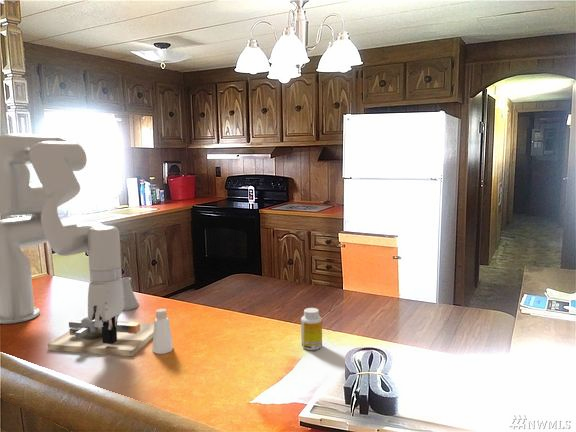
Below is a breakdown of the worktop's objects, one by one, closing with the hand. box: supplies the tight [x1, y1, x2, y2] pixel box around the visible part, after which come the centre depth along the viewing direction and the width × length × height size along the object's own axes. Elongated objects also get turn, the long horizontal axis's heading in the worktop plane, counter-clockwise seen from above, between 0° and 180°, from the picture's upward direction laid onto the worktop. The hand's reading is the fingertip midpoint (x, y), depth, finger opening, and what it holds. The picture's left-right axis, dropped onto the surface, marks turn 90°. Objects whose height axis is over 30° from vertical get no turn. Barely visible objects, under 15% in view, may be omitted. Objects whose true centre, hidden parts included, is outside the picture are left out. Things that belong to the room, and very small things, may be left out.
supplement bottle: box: [300, 307, 323, 351], centre depth 120 cm, size 6×6×10 cm
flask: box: [122, 277, 140, 311], centre depth 150 cm, size 7×7×10 cm
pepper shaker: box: [152, 308, 174, 355], centre depth 118 cm, size 5×5×11 cm
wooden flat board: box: [47, 320, 154, 357], centre depth 125 cm, size 24×18×3 cm
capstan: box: [68, 316, 141, 339], centre depth 123 cm, size 20×14×4 cm
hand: (109, 342), depth 117 cm, fingers closed
